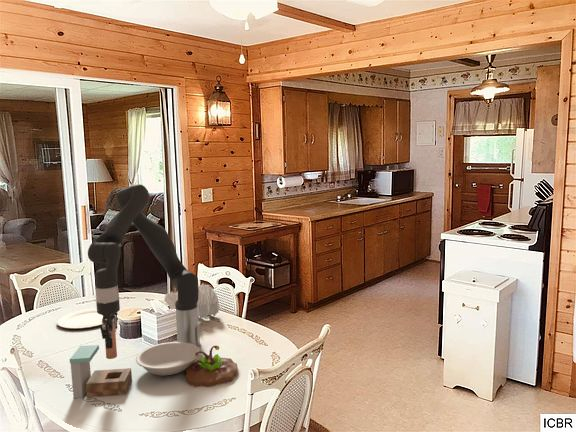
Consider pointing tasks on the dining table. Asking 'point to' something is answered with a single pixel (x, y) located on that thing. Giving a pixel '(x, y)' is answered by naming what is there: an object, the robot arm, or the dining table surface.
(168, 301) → the grey rounded lump
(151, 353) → the soup bowl
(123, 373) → the socket
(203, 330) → the dining table surface
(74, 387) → the teal-topped grey pillar
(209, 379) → the plant
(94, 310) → the plate
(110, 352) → the peg
